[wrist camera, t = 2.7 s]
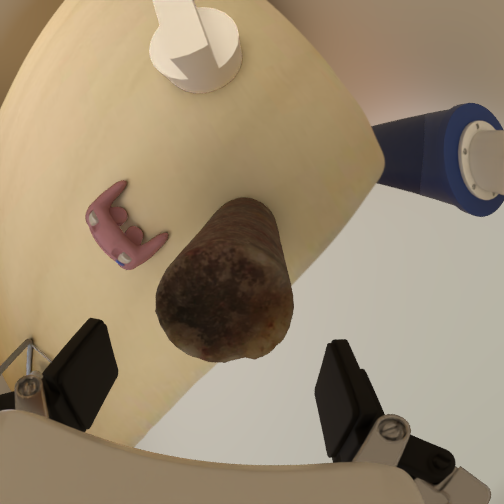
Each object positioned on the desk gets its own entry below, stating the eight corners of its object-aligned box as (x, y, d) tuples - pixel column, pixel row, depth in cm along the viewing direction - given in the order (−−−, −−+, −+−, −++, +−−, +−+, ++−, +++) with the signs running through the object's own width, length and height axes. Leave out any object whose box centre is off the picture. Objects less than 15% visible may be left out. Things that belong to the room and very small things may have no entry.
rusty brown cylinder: (216, 190, 31) (153, 237, 12) (281, 198, 31) (316, 259, 12) (210, 253, 33) (157, 365, 14) (270, 261, 33) (283, 383, 14)
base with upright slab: (252, 79, 27) (248, 35, 15) (177, 104, 28) (134, 78, 16) (229, 21, 24) (217, -35, 13) (159, 45, 25) (118, 4, 14)
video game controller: (112, 194, 33) (73, 219, 27) (125, 174, 30) (81, 199, 24) (157, 250, 35) (123, 282, 30) (174, 236, 32) (137, 270, 27)
